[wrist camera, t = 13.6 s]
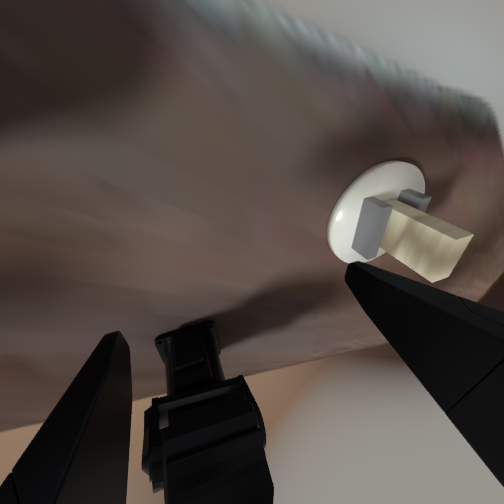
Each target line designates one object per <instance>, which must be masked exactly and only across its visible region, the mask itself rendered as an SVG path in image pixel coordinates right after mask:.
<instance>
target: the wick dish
mask: <svg viewBox="0 0 504 504" xmlns="http://www.w3.org/2000/svg"><path fill="white" fill-rule="evenodd" d="M424 193H425V181H424V177H423V174H422V173H421V171H420V170H419V169H418V168H417V167H416V166H414V165H412V164H409V163H406V162H402V161H397V160H392V161H386V162H382V163H379V164H377V165H375V166H373V167H371V168H369V169H367V170H366V171H365V172H363V173H362V174H361V175H359V176H358V177H357V178H356V179H355V180H354V181H353V182H352V183H351V184H350V185H349V186H348V187H347V188H346V190H345V191H344V192H343V193H342V195H341V196H340V198H339V199H338V201H337V203H336V204H335V206H334V209H333V211H332V213H331V216H330V219H329V223H328V227H327V240H328V244H329V247H330V249H331V251H332V252H333V253H334V254H335V255H336V256H337V257H338V258H340V259H341V260H342V261H344V262H347V263H351V262H355V261H360V262H363V263H364V262H367V261H370V260H373V259H375V258H377V257H378V256H380V255H382V254H383V253H385V252H386V251H385V250H383V249H382V248H380V244H381V241H382V238H383V235H384V233H385V230H386V227H387V224H388V221H389V218H390V215H391V212H392V209H393V205H391V204H389V203H387V202H384V201H382V200H387V199H391V198H393V199H395V200H397V201H400V202H402V203H404V204H406V205H409V206H411V207H413V208H415V209H418V210H420V211H422V212H424V213H425V211H426V209H427V207H428V204H429V202H430V200H431V198H432V197H431V196H428V195H425V194H424Z"/></svg>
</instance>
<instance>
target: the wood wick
mask: <svg viewBox="0 0 504 504" xmlns="http://www.w3.org/2000/svg"><path fill="white" fill-rule="evenodd" d="M382 201H384V202H387V203H389V204H391V205H393V209H392V212H391V215H390V218H389V221H388V224H387V227H386V230H385V233H384V235H383V238H382V241H381V244H380V248H382V249H383V250H385V251H386V252H388V253H389V254H390V255H392V256H393V257H395V258H396V259H398V260H399V261H401V262H402V263H404V264H405V265H407V266H408V267H410V268H411V269H413V270H414V271H416V272H417V273H418V274H420V275H421V276H423V277H424V278H426V279H427V280H429V281H430V282H432V283H433V282H436V281H438V280H441V279H444V278H447V277H449V275H450V273H451V272H452V270H453V268H454V267H455V265H456V263H457V262H458V260H459V258H460V257H461V255H462V253H463V252H464V250H465V248H466V247H467V245H468V243H469V242H470V240H471V238H472V237H473V235H474V234H472V233H470V232H467V231H465V230H463V229H461V228H458V227H456V226H454V225H452V224H449V223H447V222H445V221H443V220H440V219H438V218H436V217H433V216H431V215H429V214H427V213H424V212H422V211H420V210H418V209H415V208H413V207H411V206H409V205H406V204H404V203H402V202H400V201H397V200H395V199H393V198H391V199H387V200H382Z"/></svg>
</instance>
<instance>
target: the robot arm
mask: <svg viewBox="0 0 504 504" xmlns="http://www.w3.org/2000/svg"><path fill="white" fill-rule="evenodd" d="M345 282H346V284H347V285H348V287H349V288H350V290H351V291H352V293H353V294H354V296H355V298H356V299H357V301H358V302H359V304H360V305H361V307H362V308H363V310H364V311H365V313H366V314H367V315H368V317H369V318H370V319H371V320H372V322H373V323H374V324H375V325H376V327H377V328H378V329H379V330H380V332H381V333H382V334H383V336H384V337H385V338H386V339H387V341H388V342H389V343H390V344H391V345H392V347H393V348H394V349H395V351H396V352H397V353H398V354H399V356H400V357H401V358H402V359H403V361H404V362H405V363H406V364H407V366H408V367H409V368H410V370H411V371H412V372H413V373H414V375H415V376H416V377H417V378H418V380H419V381H420V382H421V383H422V385H423V386H424V387H425V388H426V390H427V391H428V392H429V393H430V395H431V396H432V397H433V399H434V400H435V401H436V402H437V404H438V405H439V406H440V407H441V409H442V410H443V411H444V412H445V414H446V415H447V416H448V418H449V419H450V420H451V422H452V423H453V424H454V425H455V427H456V428H457V429H458V430H459V432H460V433H461V434H462V435H463V437H464V438H465V439H466V440H467V442H468V443H469V444H470V446H471V447H472V448H473V449H474V451H475V452H476V453H477V454H478V456H479V457H480V458H481V459H482V461H483V462H484V463H485V464H486V466H487V467H488V468H489V469H490V471H491V472H492V473H493V475H494V476H495V477H496V478H497V480H498V481H499V482H500V483H501V484H502V486H503V487H504V311H501V310H498V309H495V308H491V307H488V306H485V305H482V304H479V303H477V302H474V301H471V300H468V299H465V298H462V297H459V296H458V297H457V296H456V295H454V294H451V293H448V292H445V291H442V290H440V289H437V288H434V287H431V286H428V285H425V284H423V283H420V282H417V281H414V280H411V279H408V278H406V277H403V276H400V275H397V274H394V273H392V272H389V271H386V270H383V269H380V268H377V267H375V266H372V265H369V264H366V263H363V262H360V261H355V262H351V263H349V264H348V266H347V270H346V274H345ZM155 346H156V348H157V350H158V352H159V354H160V356H161V358H162V360H163V362H164V364H165V368H166V383H167V396H164V397H160V398H158V397H156V398H152V406H150V408H148V409H147V410H146V411H145V412H144V440H143V452H142V470H143V471H144V472H145V473H146V474H147V475H149V478H150V482H152V486H153V494H154V493H157V492H160V491H162V490H164V499H165V504H273V496H274V486H273V482H272V478H271V475H270V471H269V468H268V464H267V460H266V456H265V451H264V448H265V445H266V433H265V427H264V422H263V418H262V415H261V412H260V409H259V407H258V405H257V403H256V401H255V399H254V397H253V395H252V393H251V391H250V389H249V387H248V385H247V383H246V381H245V379H244V377H243V375H239V376H237V377H236V378H232V379H228V380H225V377H224V374H223V370H222V366H221V362H220V359H219V354H220V353H221V351H220V347H219V342H218V337H217V333H216V328H215V324H214V321H207V322H204V323H201V324H198V325H194V326H191V327H188V328H185V329H182V330H178V331H175V332H172V333H169V334H166V335H163V336H159V337H157V338H156V339H155ZM131 413H132V380H131V362H130V349H129V345H128V343H127V342H126V340H125V338H124V337H123V335H122V333H121V332H120V331H115V332H111V333H108V334H106V335H104V336H103V338H102V339H101V341H100V342H99V344H98V345H97V346H96V348H95V349H94V351H93V352H92V354H91V355H90V357H89V358H88V360H87V361H86V362H85V364H84V365H83V367H82V368H81V370H80V371H79V373H78V374H77V376H76V377H75V378H74V380H73V381H72V383H71V384H70V386H69V387H68V389H67V390H66V392H65V393H64V394H63V396H62V397H61V399H60V400H59V402H58V403H57V405H56V406H55V408H54V409H53V410H52V412H51V413H50V415H49V416H48V418H47V419H46V421H45V422H44V424H43V425H42V427H41V428H40V430H39V431H38V432H37V434H36V435H35V437H34V438H33V440H32V441H31V443H30V444H29V445H28V447H27V448H26V450H25V451H24V453H23V454H22V456H21V457H20V459H19V460H18V461H17V463H16V464H15V466H14V467H13V469H12V473H10V474H9V475H8V476H7V477H6V479H5V480H4V482H3V483H2V485H1V486H0V504H126V496H127V495H126V494H127V479H128V462H129V447H130V430H131ZM166 426H167V427H166ZM163 427H164V428H163ZM160 428H162V429H160Z"/></svg>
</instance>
